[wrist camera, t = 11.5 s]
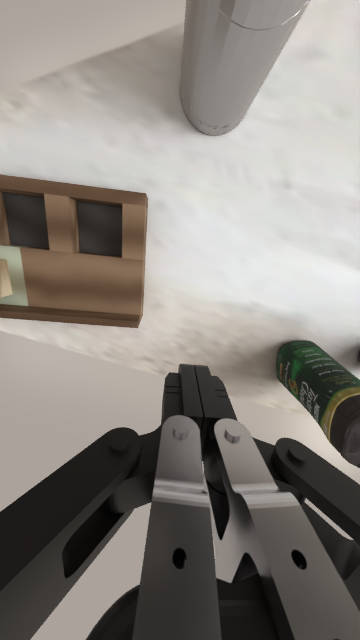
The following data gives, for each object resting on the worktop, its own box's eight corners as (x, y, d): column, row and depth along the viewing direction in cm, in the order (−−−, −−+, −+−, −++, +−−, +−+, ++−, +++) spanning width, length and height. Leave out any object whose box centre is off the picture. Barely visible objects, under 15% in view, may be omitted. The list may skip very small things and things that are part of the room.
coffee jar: (274, 341, 39) (361, 419, 21) (315, 336, 39) (436, 409, 21) (272, 383, 42) (346, 480, 24) (310, 378, 42) (411, 472, 25)
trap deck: (-38, 174, 28) (-91, 156, 22) (147, 198, 30) (142, 187, 24) (-10, 302, 34) (-47, 314, 28) (142, 315, 36) (137, 328, 30)
